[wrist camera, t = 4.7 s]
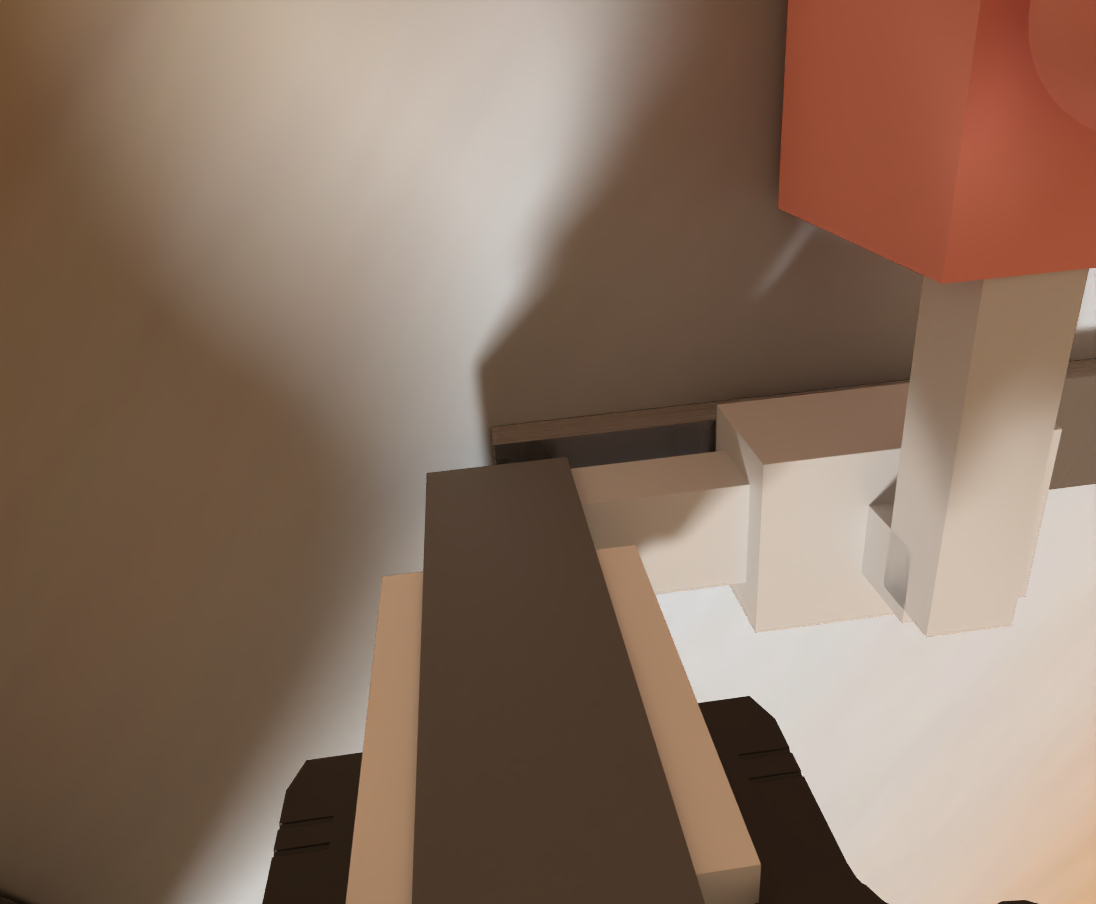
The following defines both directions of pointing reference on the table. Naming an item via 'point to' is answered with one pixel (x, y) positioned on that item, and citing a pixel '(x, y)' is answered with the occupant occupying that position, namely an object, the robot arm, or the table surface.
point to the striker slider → (778, 456)
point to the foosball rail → (1084, 411)
